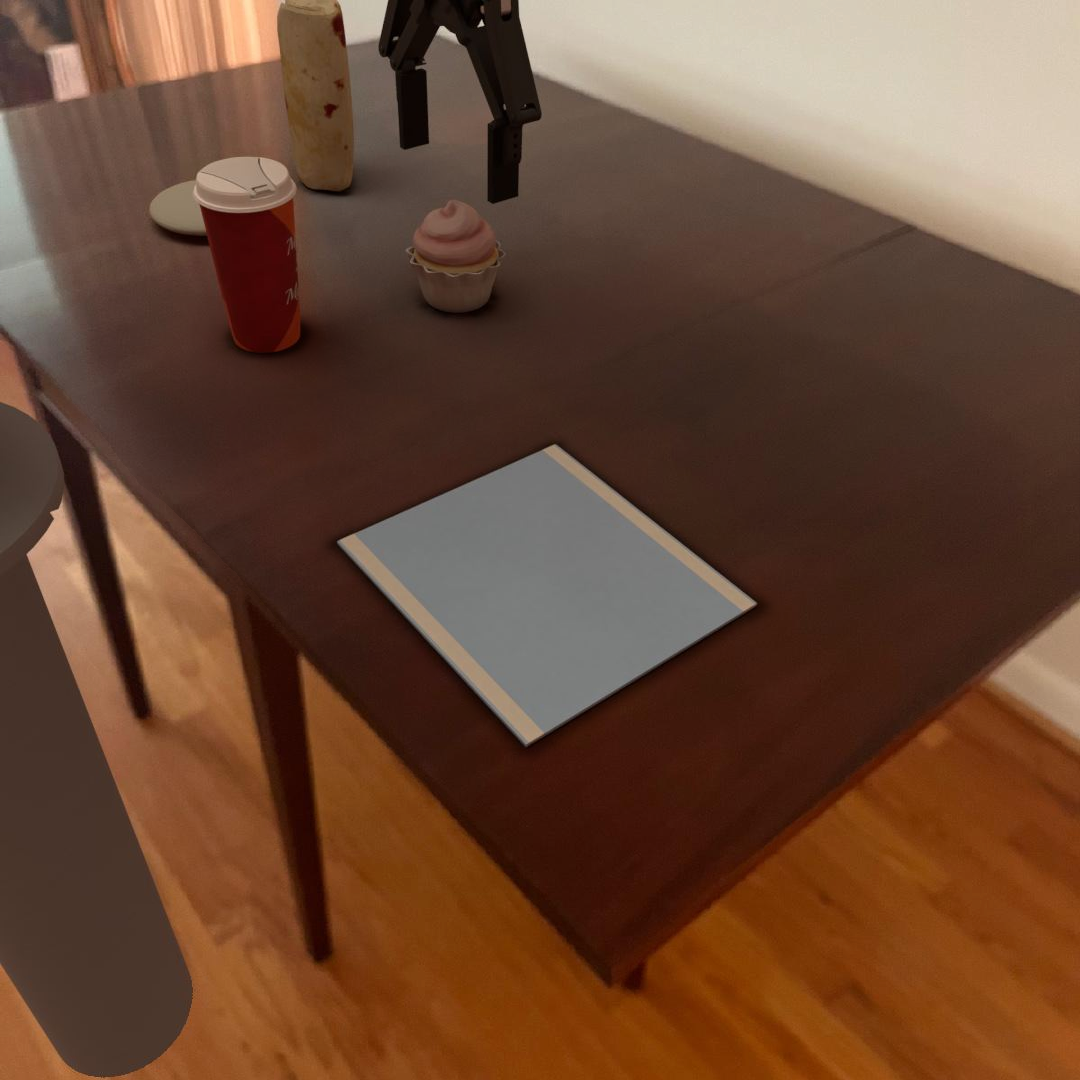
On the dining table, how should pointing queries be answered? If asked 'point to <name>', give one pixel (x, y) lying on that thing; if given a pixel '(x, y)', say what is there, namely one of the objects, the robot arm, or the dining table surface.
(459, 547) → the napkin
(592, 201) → the dining table surface
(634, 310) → the dining table surface
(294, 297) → the coffee cup
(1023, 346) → the dining table surface
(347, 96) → the food model
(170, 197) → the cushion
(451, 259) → the cupcake
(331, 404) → the dining table surface
